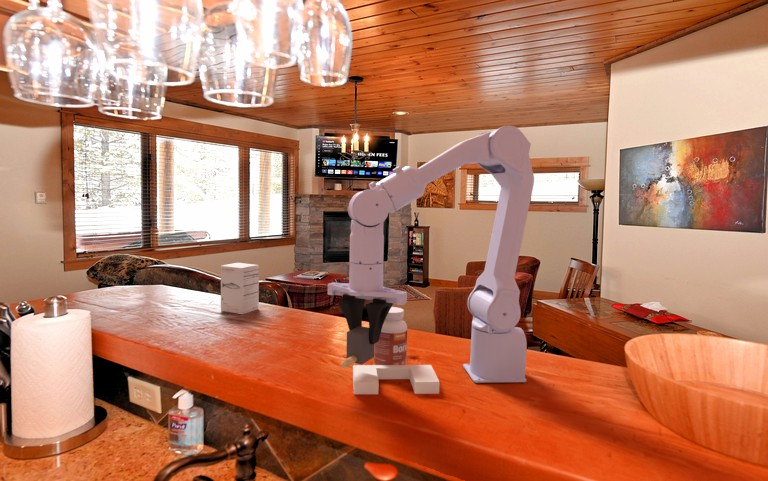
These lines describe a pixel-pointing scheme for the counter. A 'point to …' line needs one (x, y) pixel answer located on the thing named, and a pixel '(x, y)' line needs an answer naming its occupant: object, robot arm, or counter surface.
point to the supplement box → (239, 288)
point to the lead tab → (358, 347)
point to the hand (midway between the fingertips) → (365, 340)
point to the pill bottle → (392, 340)
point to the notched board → (394, 377)
